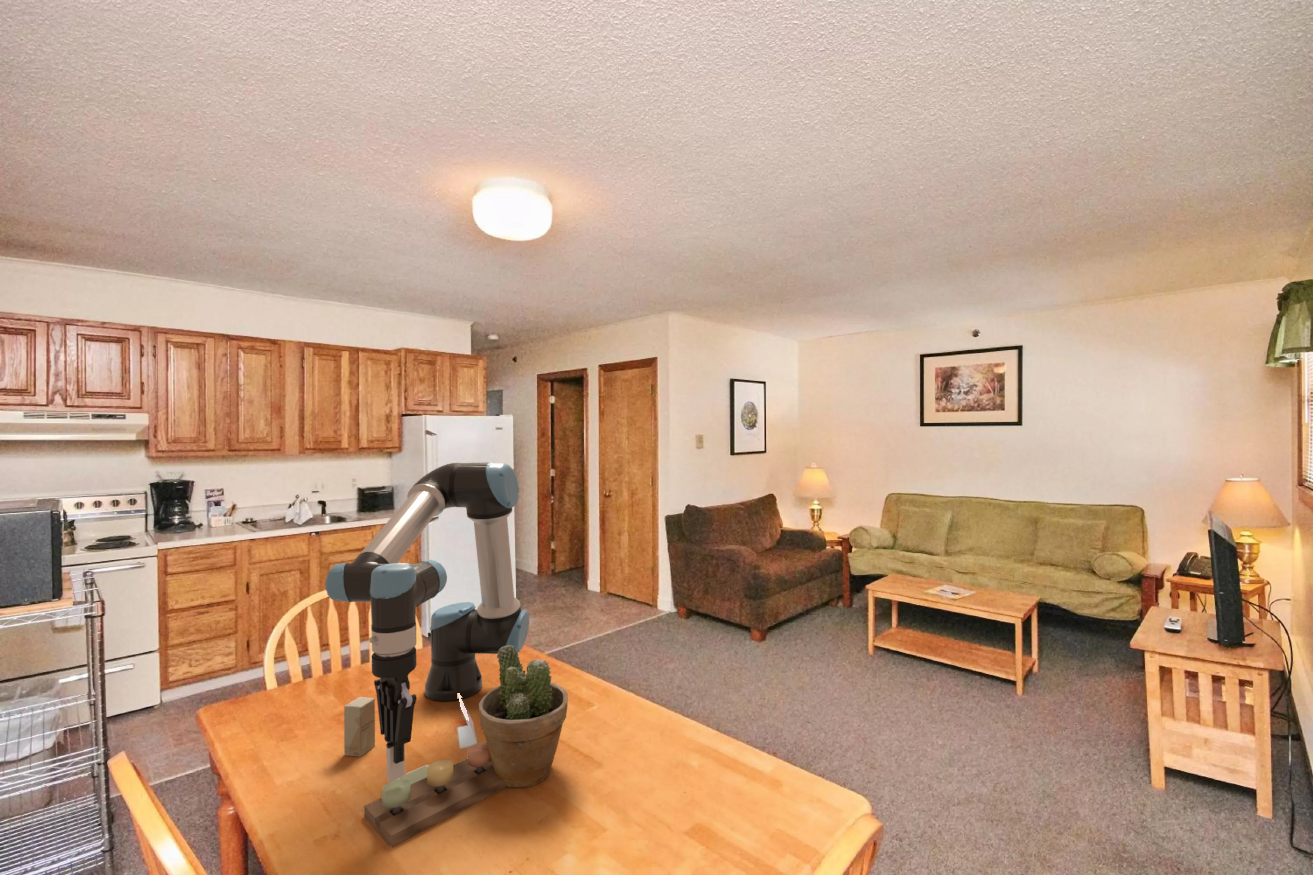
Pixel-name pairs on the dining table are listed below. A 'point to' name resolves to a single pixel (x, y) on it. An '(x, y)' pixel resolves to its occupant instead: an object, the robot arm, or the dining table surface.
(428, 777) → the button ochre
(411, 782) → the swatch
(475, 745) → the button terracotta
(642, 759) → the dining table surface
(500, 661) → the potted plant
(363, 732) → the box
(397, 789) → the button green
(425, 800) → the board
